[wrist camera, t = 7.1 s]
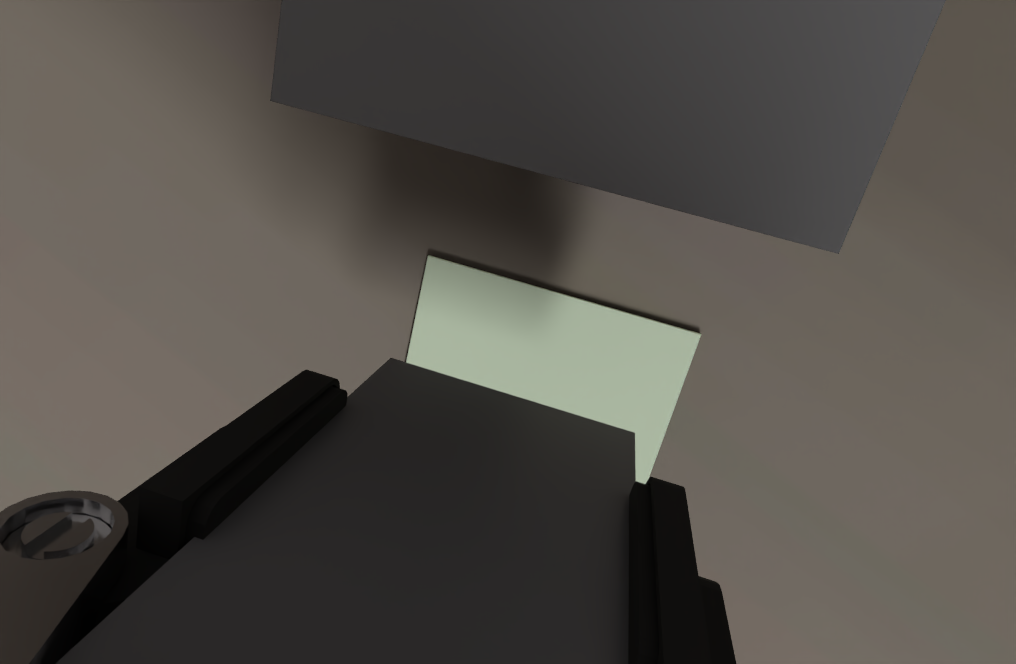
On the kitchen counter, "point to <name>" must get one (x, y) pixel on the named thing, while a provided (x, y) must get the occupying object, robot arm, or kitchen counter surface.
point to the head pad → (553, 350)
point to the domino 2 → (406, 543)
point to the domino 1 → (630, 93)
